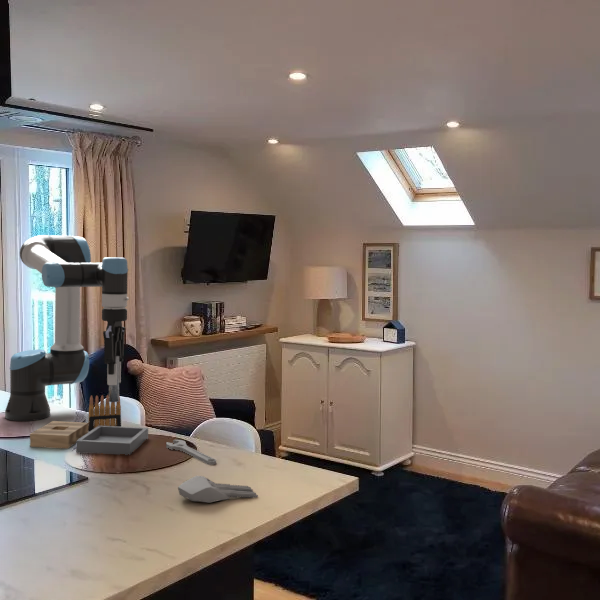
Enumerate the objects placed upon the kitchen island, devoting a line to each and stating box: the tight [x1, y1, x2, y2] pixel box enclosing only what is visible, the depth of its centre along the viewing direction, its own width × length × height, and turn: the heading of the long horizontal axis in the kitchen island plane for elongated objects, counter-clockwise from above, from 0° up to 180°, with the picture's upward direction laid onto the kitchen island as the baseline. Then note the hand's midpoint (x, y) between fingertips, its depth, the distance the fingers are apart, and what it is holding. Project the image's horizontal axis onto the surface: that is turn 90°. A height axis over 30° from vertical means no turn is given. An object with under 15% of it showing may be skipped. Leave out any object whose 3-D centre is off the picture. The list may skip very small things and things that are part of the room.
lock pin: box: [108, 356, 120, 403], centre depth 218 cm, size 3×3×14 cm
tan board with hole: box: [29, 420, 89, 450], centre depth 223 cm, size 16×12×4 cm
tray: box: [75, 426, 149, 456], centre depth 220 cm, size 18×16×4 cm
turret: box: [177, 475, 259, 503], centre depth 177 cm, size 10×20×5 cm, turn 111°
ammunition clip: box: [87, 394, 122, 432], centre depth 237 cm, size 11×2×12 cm, turn 113°
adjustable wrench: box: [165, 439, 217, 466], centre depth 213 cm, size 25×6×2 cm, turn 34°
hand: (114, 383), depth 218 cm, fingers closed on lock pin, 3 cm apart
